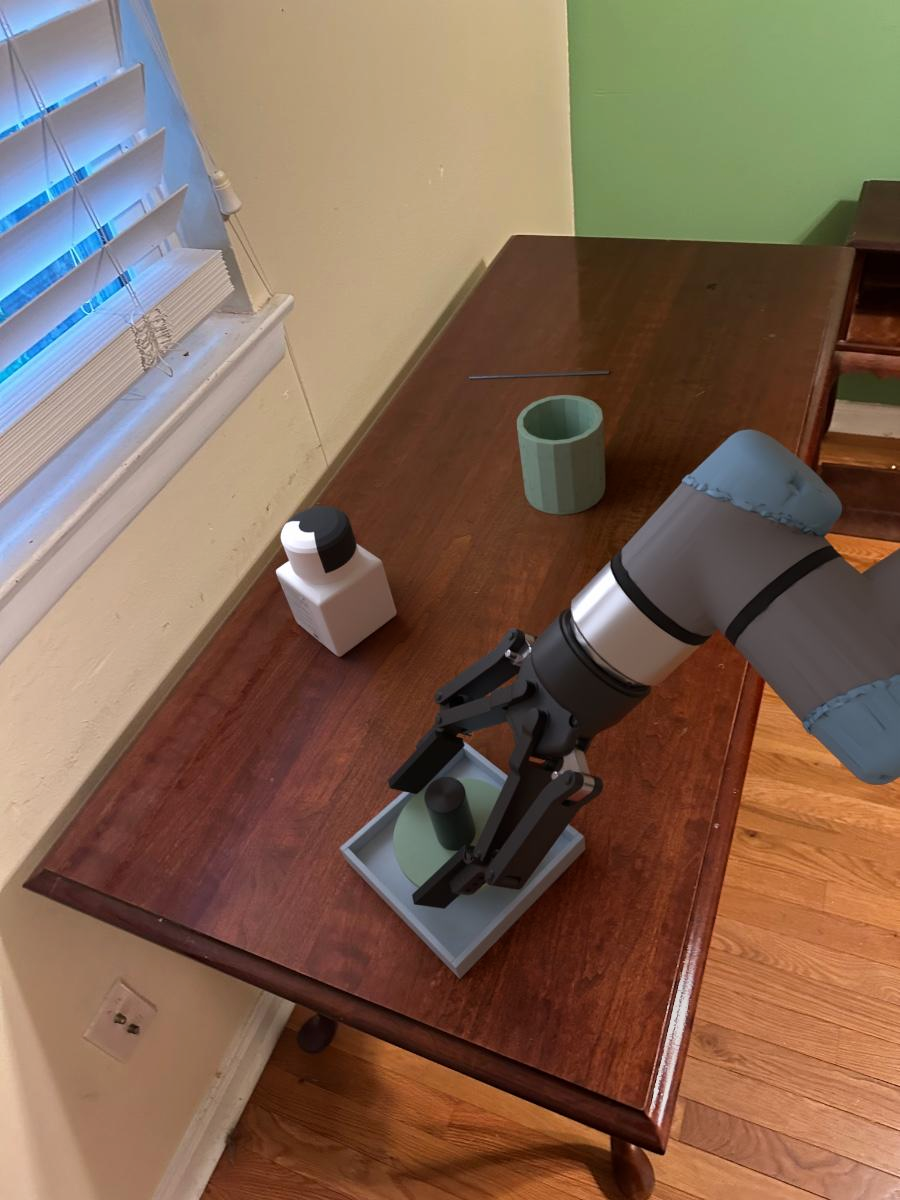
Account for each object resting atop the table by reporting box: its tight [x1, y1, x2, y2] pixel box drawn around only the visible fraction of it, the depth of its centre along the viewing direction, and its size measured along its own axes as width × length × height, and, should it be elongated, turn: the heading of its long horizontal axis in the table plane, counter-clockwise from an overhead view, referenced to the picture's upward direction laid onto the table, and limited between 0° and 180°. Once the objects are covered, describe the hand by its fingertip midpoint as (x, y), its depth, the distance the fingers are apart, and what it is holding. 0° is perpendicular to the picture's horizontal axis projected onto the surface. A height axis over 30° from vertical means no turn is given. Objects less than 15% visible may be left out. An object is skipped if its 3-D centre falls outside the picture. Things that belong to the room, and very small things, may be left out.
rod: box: [468, 370, 611, 381], centre depth 114 cm, size 1×19×1 cm, turn 79°
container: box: [275, 505, 397, 658], centre depth 83 cm, size 8×8×13 cm
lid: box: [393, 777, 501, 898], centre depth 63 cm, size 10×10×7 cm
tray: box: [339, 741, 586, 979], centre depth 66 cm, size 14×14×2 cm
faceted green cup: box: [516, 394, 606, 516], centre depth 93 cm, size 9×9×10 cm
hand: (415, 841), depth 64 cm, fingers closed on lid, 9 cm apart
